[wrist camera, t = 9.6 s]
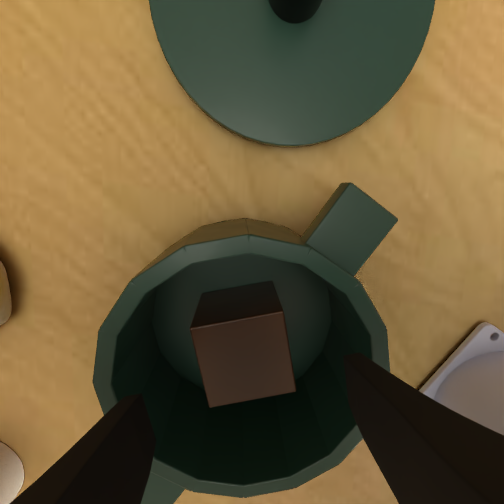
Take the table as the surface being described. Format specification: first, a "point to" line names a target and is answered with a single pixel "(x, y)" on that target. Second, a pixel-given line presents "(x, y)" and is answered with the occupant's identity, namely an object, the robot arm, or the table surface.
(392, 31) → the lid
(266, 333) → the block
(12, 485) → the dixie cup
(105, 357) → the pot
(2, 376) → the table surface
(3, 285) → the bread roll
